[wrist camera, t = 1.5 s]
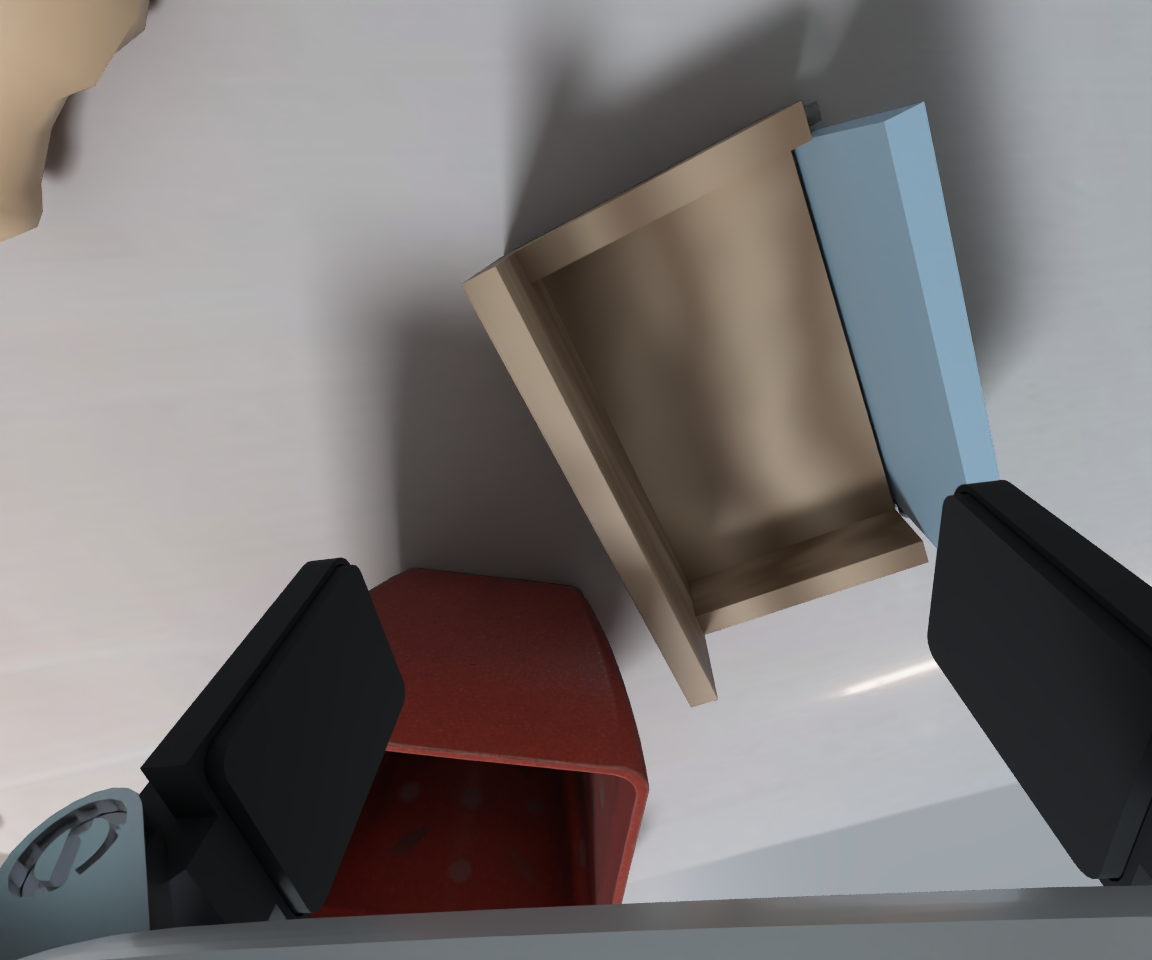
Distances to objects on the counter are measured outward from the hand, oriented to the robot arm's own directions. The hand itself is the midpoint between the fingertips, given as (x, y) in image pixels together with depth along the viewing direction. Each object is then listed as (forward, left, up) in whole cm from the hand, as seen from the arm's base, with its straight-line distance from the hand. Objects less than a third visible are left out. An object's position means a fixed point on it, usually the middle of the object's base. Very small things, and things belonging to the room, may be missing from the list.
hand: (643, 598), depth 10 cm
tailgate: (-12, +7, -25) cm, 28 cm away
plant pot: (+18, +18, -26) cm, 36 cm away
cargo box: (-3, +7, -25) cm, 26 cm away
